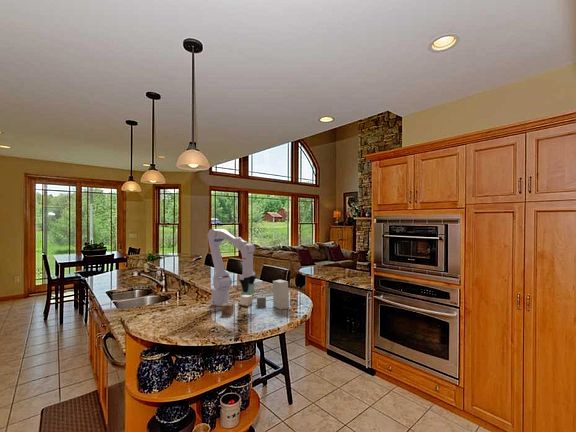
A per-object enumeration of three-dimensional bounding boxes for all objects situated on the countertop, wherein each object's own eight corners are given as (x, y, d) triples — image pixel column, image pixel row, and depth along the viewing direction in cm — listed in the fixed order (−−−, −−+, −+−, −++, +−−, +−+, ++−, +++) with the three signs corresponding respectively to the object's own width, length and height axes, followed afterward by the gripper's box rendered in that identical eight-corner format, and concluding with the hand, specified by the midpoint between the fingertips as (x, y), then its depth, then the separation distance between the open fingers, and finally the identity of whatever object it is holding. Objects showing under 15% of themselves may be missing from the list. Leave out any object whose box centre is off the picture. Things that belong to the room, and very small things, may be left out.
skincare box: (289, 308, 166) (289, 281, 166) (280, 310, 162) (280, 282, 162) (281, 304, 173) (281, 278, 173) (272, 306, 169) (272, 280, 169)
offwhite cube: (240, 304, 173) (240, 296, 173) (245, 302, 177) (245, 294, 177) (247, 306, 170) (247, 297, 170) (252, 304, 174) (252, 295, 175)
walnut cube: (221, 315, 154) (221, 305, 154) (224, 312, 159) (224, 302, 159) (231, 315, 153) (231, 305, 153) (233, 312, 158) (233, 302, 158)
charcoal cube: (256, 306, 169) (256, 297, 169) (257, 304, 174) (257, 295, 174) (265, 306, 169) (265, 297, 169) (265, 304, 174) (265, 295, 174)
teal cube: (241, 294, 161) (241, 285, 161) (245, 292, 165) (246, 283, 166) (249, 295, 159) (249, 285, 159) (254, 293, 164) (254, 283, 164)
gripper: (248, 268, 154) (248, 294, 154) (260, 264, 168) (260, 288, 168) (236, 267, 157) (236, 293, 157) (248, 263, 170) (248, 287, 170)
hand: (247, 290), depth 162 cm, fingers closed on teal cube, 5 cm apart
